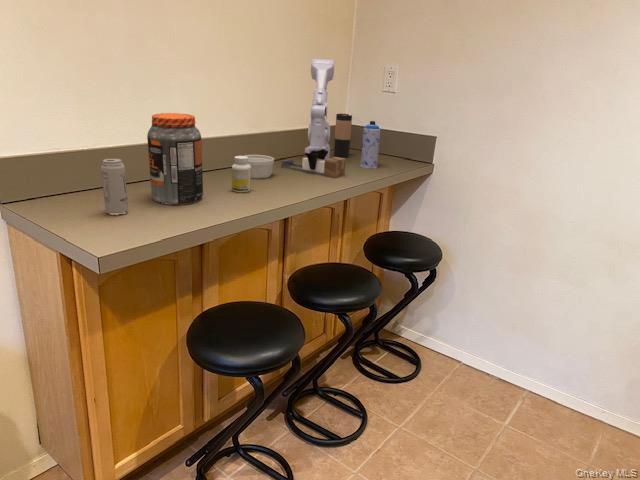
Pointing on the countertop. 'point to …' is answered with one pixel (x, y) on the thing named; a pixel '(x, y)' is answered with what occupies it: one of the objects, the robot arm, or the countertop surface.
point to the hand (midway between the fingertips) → (315, 168)
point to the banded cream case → (319, 165)
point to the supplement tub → (175, 159)
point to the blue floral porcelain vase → (370, 146)
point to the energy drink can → (114, 186)
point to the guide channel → (290, 162)
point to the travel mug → (342, 135)
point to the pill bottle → (241, 174)
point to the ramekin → (260, 166)
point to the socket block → (334, 167)
